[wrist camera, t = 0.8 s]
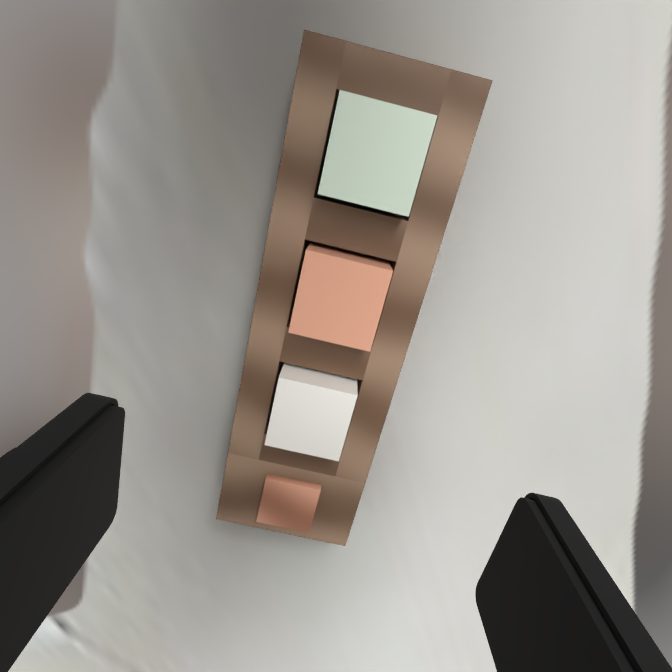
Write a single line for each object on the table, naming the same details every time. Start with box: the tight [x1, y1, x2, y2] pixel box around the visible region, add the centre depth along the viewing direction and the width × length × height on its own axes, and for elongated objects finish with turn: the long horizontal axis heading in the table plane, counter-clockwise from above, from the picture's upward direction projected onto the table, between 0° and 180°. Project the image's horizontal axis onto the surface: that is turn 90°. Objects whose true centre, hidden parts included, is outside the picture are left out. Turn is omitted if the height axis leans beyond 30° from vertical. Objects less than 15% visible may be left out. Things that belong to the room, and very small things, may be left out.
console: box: [216, 30, 492, 546], centre depth 29 cm, size 32×10×4 cm, turn 167°
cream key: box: [265, 362, 358, 461], centre depth 29 cm, size 5×5×3 cm
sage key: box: [318, 90, 437, 217], centre depth 24 cm, size 5×5×3 cm
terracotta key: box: [288, 242, 393, 352], centre depth 26 cm, size 5×5×3 cm
